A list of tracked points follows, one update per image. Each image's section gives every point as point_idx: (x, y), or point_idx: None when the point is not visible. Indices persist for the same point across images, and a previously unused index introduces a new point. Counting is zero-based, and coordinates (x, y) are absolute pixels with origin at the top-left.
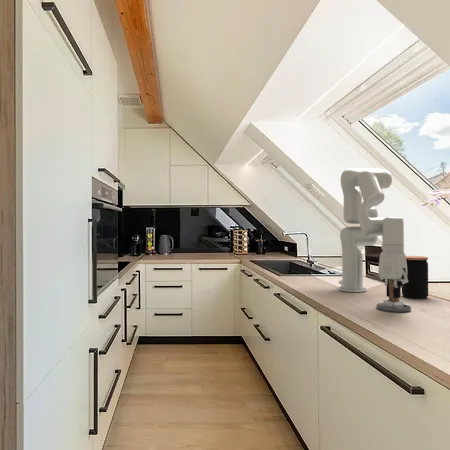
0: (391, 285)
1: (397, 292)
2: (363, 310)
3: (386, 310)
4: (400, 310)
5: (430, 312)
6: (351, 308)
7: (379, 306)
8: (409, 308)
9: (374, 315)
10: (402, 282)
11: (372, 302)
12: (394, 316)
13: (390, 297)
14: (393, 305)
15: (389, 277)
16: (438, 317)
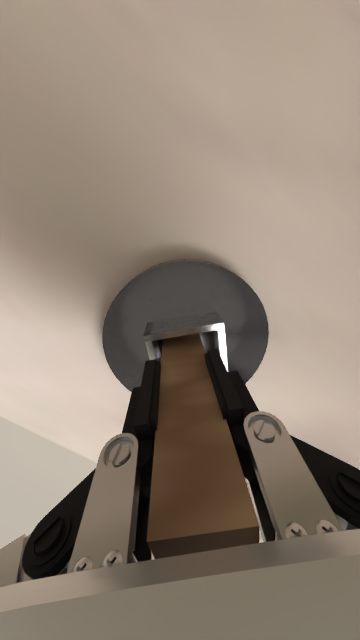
0: (190, 445)
1: (129, 406)
2: (207, 139)
3: (142, 272)
4: (105, 327)
5: (102, 428)
6: (291, 77)
7: (197, 266)
8: (120, 380)
9: (57, 115)
10: (12, 560)
11: (341, 334)
12: (31, 240)
13: (192, 358)
14: (146, 327)
15: (140, 628)
16: (20, 407)
